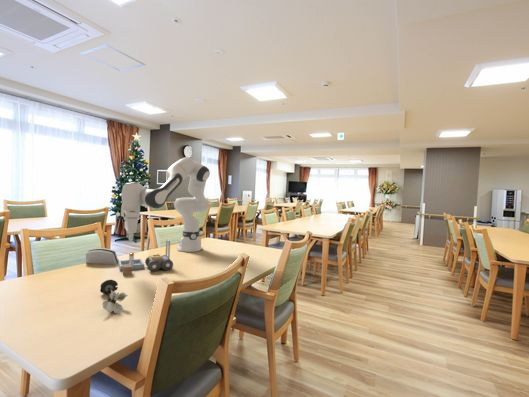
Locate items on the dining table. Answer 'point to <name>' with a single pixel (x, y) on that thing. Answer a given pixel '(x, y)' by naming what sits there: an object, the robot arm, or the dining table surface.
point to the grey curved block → (101, 256)
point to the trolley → (160, 260)
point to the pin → (131, 258)
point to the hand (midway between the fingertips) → (129, 239)
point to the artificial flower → (112, 296)
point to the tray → (137, 265)
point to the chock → (127, 269)
